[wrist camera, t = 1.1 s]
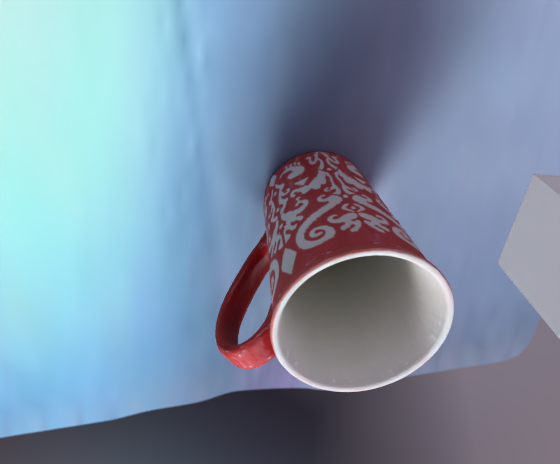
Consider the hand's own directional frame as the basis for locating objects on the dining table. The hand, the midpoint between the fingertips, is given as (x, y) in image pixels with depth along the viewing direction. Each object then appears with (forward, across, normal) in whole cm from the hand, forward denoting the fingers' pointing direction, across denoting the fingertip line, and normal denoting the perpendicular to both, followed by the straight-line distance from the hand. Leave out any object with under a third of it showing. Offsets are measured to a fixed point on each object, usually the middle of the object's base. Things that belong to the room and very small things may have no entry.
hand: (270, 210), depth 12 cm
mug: (+21, +5, -11) cm, 24 cm away
